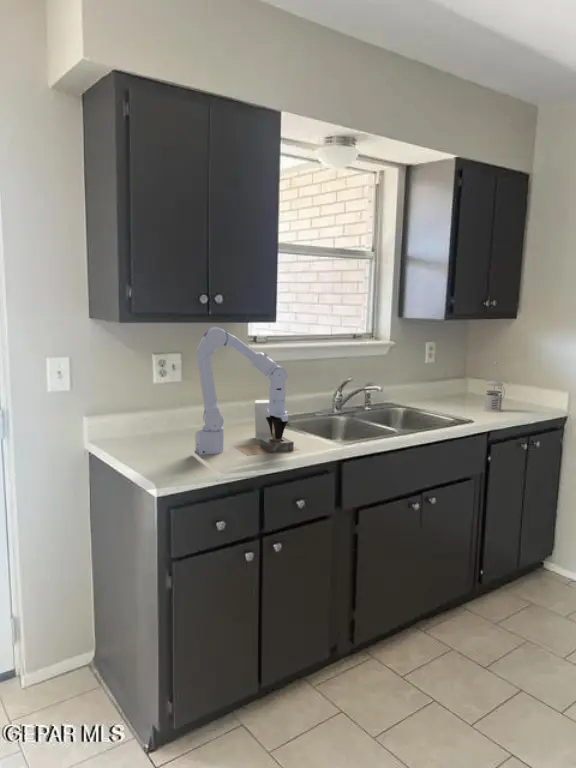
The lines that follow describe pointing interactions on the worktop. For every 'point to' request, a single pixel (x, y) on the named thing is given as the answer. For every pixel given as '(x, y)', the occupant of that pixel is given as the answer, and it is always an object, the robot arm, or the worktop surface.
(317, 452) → the worktop surface
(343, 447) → the worktop surface
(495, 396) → the french press
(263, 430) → the skincare box
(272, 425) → the birch peg
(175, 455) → the worktop surface
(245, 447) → the socket board
